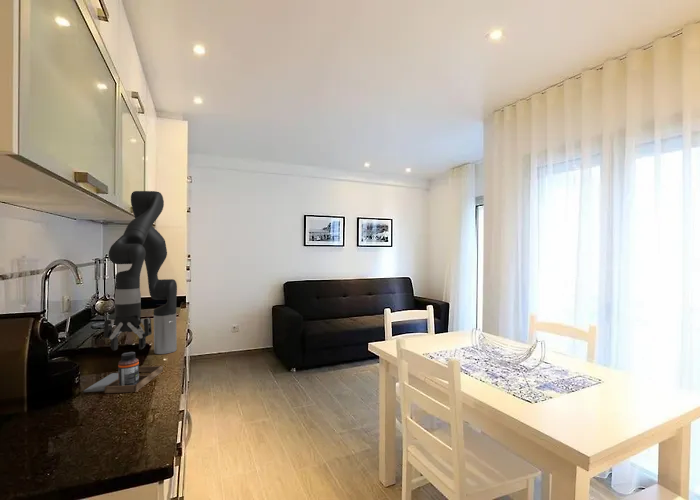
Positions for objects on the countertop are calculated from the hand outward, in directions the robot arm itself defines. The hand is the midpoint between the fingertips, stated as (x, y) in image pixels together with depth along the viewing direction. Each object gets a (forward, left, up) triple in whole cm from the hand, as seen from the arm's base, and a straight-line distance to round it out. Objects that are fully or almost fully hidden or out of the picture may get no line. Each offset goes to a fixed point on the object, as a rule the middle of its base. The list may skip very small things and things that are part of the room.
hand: (128, 349), depth 119 cm
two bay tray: (-5, 0, -13) cm, 14 cm away
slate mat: (-5, -9, -13) cm, 17 cm away
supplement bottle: (0, 0, -13) cm, 13 cm away
